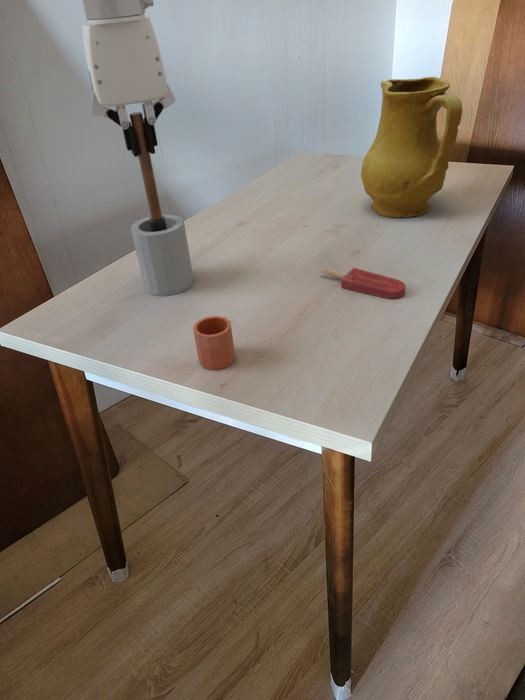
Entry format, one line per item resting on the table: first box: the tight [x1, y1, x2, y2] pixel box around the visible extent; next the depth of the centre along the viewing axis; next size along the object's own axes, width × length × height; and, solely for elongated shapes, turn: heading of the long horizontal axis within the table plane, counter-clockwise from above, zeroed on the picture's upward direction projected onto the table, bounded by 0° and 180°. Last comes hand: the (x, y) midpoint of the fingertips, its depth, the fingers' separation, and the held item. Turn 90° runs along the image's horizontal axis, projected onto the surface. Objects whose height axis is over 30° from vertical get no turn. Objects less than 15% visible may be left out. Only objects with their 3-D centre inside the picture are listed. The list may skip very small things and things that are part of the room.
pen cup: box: [192, 315, 236, 371], centre depth 71 cm, size 5×5×6 cm
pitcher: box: [360, 76, 463, 219], centre depth 105 cm, size 17×19×25 cm
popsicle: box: [320, 267, 406, 300], centre depth 86 cm, size 4×2×15 cm
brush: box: [129, 111, 167, 232], centre depth 82 cm, size 3×3×20 cm
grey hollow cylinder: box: [130, 214, 194, 297], centre depth 89 cm, size 9×9×11 cm
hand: (143, 152), depth 79 cm, fingers closed on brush
